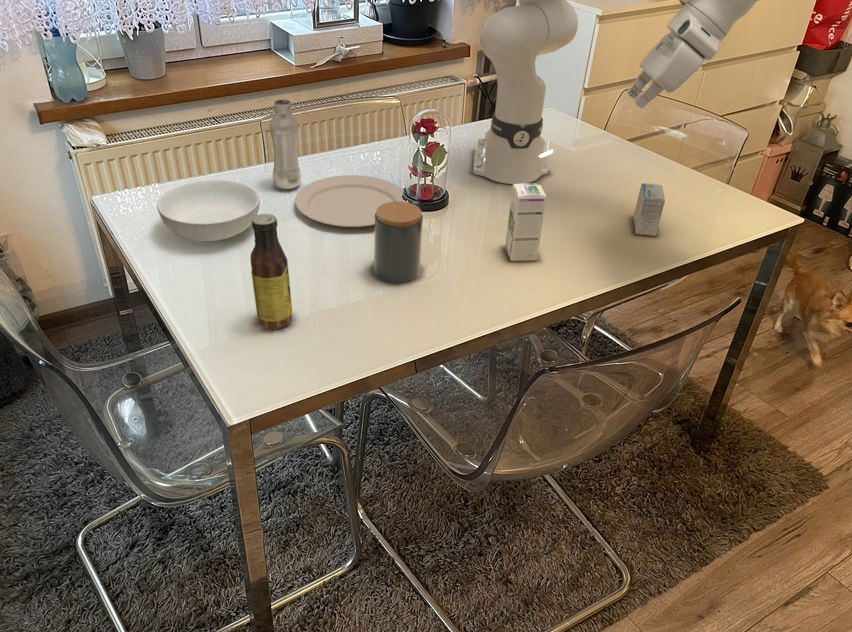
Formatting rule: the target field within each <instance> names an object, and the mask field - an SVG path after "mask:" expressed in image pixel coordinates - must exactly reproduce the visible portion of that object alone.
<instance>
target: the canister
mask: <svg viewBox="0 0 852 632" xmlns="http://www.w3.org/2000/svg"><path fill="white" fill-rule="evenodd" d="M423 219H424V216H423V214H422V210H421V208H420V207H419V206H418V205H416V204H414V203H411V202H409V203H407V202H399V201H396V202H388V203H385V204H382V205H380V206H379V207H378V208H377V211H376V214H375V225H374V237H373V238H374V239H373V240H374V242H373V245H374V246H373V273H374V275H375V277H377V278H378V280H381V281H382V282H385V283H391V284H405V283H410V282H412V281H414V280H416V279H418V277H419V275H420V271H421V257H422V239H423V238H422V236H423V221H424V220H423Z"/></svg>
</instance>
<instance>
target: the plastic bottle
mask: <svg viewBox="0 0 852 632" xmlns="http://www.w3.org/2000/svg"><path fill="white" fill-rule="evenodd" d="M273 106H274V108H273V111H274V112H275V113H274V115H273V116H272V118H271V119H270V122H269V132H270V136H271V141H272V148H273V170H272V180H273V184H274V185H275V187H276V188H278V189H282V190H291V189H295V188H297V187H299V185H300V183H301V179H302V174H301V173H302V172H301V168H300V166H299V165H300V163H299V157H298V138H299V122H298V119H297V118H296V117H295V116H294V114H293V113H292V110H293V108H292V102H291V100H289V99H276V100H275V101H274V103H273Z"/></svg>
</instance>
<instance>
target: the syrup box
mask: <svg viewBox="0 0 852 632" xmlns="http://www.w3.org/2000/svg"><path fill="white" fill-rule="evenodd" d="M510 199H511V200H510V204H509V205H510V206H509V213H508V221H507V231H506V238H505V246H504V248H505V250H506V253H507V255H508V259H509V261H511V262H533V261H537V260H538V254H539V249H540V242H541V236H542V229H543V221H544V215H545V209H546V208H545V207H546V202H547V194H546V192H545V191H544V189H543V187H542V185H541V183H534V182H530V183H521V184H512V190H511V198H510Z"/></svg>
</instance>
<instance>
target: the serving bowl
mask: <svg viewBox="0 0 852 632" xmlns="http://www.w3.org/2000/svg"><path fill="white" fill-rule="evenodd" d="M260 201H261V199H260V194H259V193H258V191H257V190H255V189H254V188H253V187H251V186H250V185H247V184H245V183H243V182H239V181H234V180H227V179H225V180H224V179H207V180H199V181H194V182H189V183H185V184H182V185H179V186H176V187H173V188H171V189H170V190H168V191H166V192H165V193H164V194H162V195H161V196H160V198H159V199H158V200H157V204H156V208H157V211H158V214H159V217H160V219H161V221H162V223H163V224H164V225H165V227H167V228H168V229H169V231H171V232H172V233H174V234H175V235H177V236H179V237H181V238H184V239H186V240H187V239H188V240H191V241H197V242H215V241H221V240H226V239H230V238H232V237H235V236H238V235H239V234H241V233H243V232H245V230H247V229H248V228H249V227H250V226H252V218H253V217H255V216H257V215H259V214H258V213H259V209H260V203H261V202H260Z"/></svg>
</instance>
